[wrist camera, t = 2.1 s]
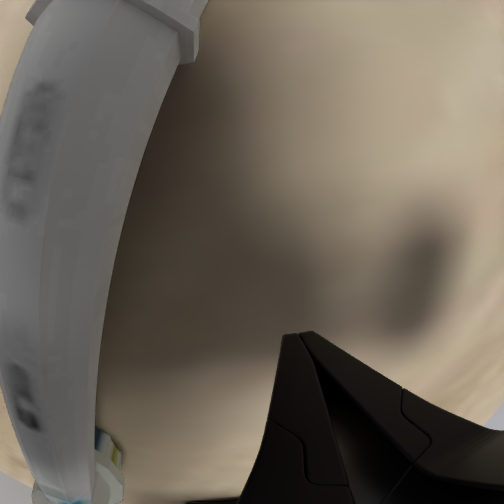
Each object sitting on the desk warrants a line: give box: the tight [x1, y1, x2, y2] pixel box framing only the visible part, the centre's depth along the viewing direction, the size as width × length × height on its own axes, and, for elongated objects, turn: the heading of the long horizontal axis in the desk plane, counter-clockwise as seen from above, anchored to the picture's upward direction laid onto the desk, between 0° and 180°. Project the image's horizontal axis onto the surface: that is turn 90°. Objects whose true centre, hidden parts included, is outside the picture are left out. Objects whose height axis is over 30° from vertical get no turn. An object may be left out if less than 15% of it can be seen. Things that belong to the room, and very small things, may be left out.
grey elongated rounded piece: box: [0, 0, 209, 504], centre depth 8 cm, size 5×7×25 cm
